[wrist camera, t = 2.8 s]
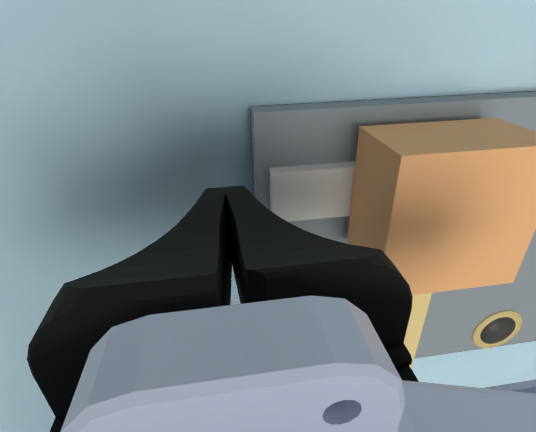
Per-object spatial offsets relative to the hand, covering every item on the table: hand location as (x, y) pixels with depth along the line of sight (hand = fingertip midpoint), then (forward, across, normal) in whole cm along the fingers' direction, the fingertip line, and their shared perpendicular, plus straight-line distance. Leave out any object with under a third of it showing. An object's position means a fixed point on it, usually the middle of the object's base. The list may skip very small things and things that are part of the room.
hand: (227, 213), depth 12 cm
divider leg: (+1, -7, +4) cm, 8 cm away
